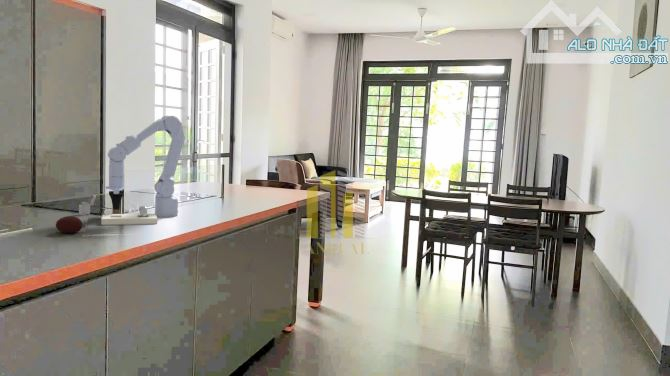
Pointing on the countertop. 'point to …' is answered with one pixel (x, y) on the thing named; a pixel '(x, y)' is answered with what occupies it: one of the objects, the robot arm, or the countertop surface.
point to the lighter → (86, 206)
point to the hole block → (127, 219)
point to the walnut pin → (115, 211)
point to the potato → (69, 224)
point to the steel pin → (143, 211)
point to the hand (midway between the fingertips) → (116, 208)
